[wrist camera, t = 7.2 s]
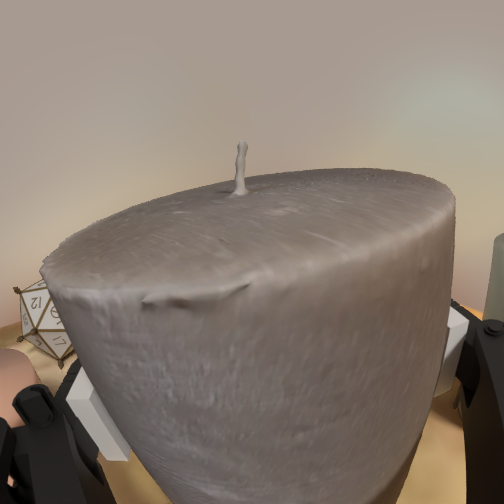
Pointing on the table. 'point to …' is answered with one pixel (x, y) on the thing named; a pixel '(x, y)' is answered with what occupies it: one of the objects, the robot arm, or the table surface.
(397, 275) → the pillar candle
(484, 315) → the pale green cylinder
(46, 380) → the table surface
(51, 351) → the game die
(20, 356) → the peach round-topped cylinder
